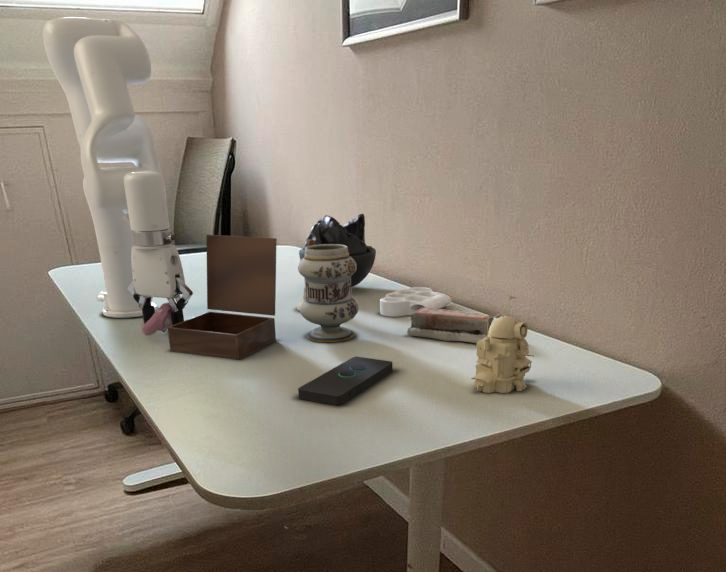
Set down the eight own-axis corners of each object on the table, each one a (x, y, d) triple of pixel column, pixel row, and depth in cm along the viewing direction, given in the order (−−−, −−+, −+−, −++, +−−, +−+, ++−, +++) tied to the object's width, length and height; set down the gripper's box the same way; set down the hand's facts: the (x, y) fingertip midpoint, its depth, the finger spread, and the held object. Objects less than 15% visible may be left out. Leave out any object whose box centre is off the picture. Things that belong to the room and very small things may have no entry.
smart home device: (395, 361, 127) (339, 395, 112) (394, 370, 128) (340, 406, 112) (354, 355, 131) (295, 388, 115) (354, 364, 132) (295, 398, 116)
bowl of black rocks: (292, 296, 182) (288, 219, 174) (310, 280, 200) (307, 209, 191) (369, 298, 179) (368, 219, 171) (381, 282, 197) (381, 209, 188)
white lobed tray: (420, 321, 159) (365, 313, 166) (457, 305, 172) (405, 298, 179) (420, 306, 157) (365, 298, 164) (458, 291, 170) (405, 284, 178)
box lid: (274, 238, 139) (276, 238, 140) (206, 234, 145) (208, 234, 146) (273, 315, 144) (275, 315, 145) (207, 309, 150) (209, 309, 150)
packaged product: (405, 313, 146) (423, 302, 154) (405, 336, 148) (423, 325, 156) (491, 321, 139) (505, 310, 147) (489, 346, 141) (503, 333, 149)
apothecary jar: (325, 325, 156) (322, 240, 148) (370, 333, 150) (369, 244, 142) (289, 338, 148) (283, 248, 140) (335, 347, 141) (332, 253, 133)
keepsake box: (239, 359, 135) (236, 335, 133) (170, 350, 141) (167, 327, 139) (276, 340, 147) (274, 317, 144) (210, 333, 152) (208, 311, 150)
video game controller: (158, 344, 147) (168, 314, 143) (139, 333, 147) (148, 303, 143) (179, 331, 155) (189, 303, 152) (160, 321, 155) (170, 292, 152)
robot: (507, 400, 114) (515, 306, 107) (465, 389, 118) (470, 299, 112) (540, 384, 121) (549, 294, 114) (498, 374, 125) (505, 287, 119)
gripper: (199, 238, 142) (209, 326, 150) (129, 234, 148) (143, 320, 157) (176, 243, 136) (188, 335, 144) (104, 239, 142) (120, 328, 150)
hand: (164, 326), depth 150 cm, fingers closed on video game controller, 6 cm apart
